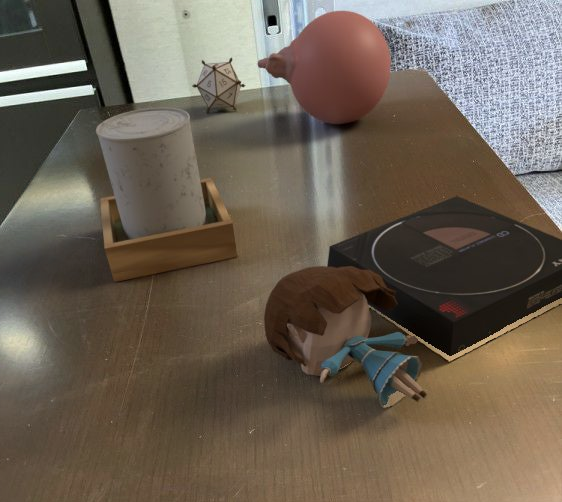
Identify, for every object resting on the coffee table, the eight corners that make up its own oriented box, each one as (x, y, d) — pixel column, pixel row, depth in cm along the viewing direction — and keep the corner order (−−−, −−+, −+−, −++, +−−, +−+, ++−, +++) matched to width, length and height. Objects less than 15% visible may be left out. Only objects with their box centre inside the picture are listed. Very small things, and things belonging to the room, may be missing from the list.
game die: (214, 131, 112) (180, 82, 110) (252, 104, 113) (219, 54, 111) (219, 118, 104) (182, 64, 102) (259, 89, 104) (224, 35, 102)
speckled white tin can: (180, 207, 76) (159, 102, 68) (225, 230, 70) (207, 118, 62) (111, 235, 72) (79, 126, 64) (153, 262, 66) (124, 146, 58)
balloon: (269, 111, 107) (259, 8, 97) (387, 103, 104) (389, -3, 94) (258, 143, 95) (246, 30, 85) (391, 135, 92) (394, 17, 83)
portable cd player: (449, 228, 68) (452, 194, 66) (584, 292, 57) (594, 253, 54) (327, 279, 62) (325, 243, 60) (449, 362, 51) (453, 322, 48)
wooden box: (109, 229, 76) (100, 198, 73) (216, 208, 78) (211, 177, 75) (114, 282, 66) (104, 248, 63) (237, 256, 68) (232, 223, 65)
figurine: (444, 414, 51) (319, 316, 58) (494, 320, 45) (349, 224, 53) (353, 466, 44) (224, 347, 51) (399, 362, 38) (246, 244, 45)
